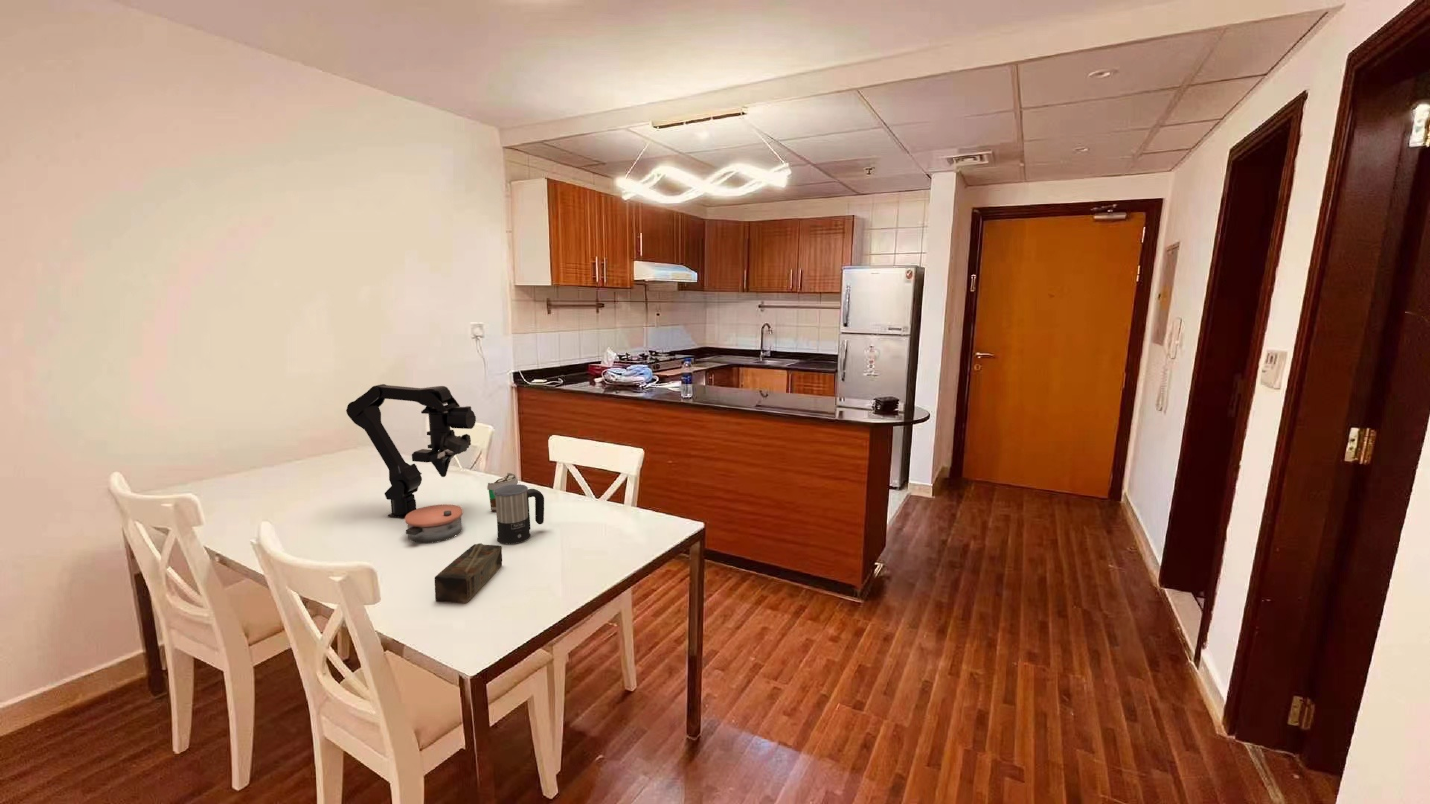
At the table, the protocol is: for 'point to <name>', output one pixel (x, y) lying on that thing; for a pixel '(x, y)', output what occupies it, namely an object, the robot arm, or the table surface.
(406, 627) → the table surface
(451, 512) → the lid
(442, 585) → the beverage carton
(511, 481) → the food container
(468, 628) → the table surface
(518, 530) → the milk frother
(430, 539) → the pot
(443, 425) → the robot arm
